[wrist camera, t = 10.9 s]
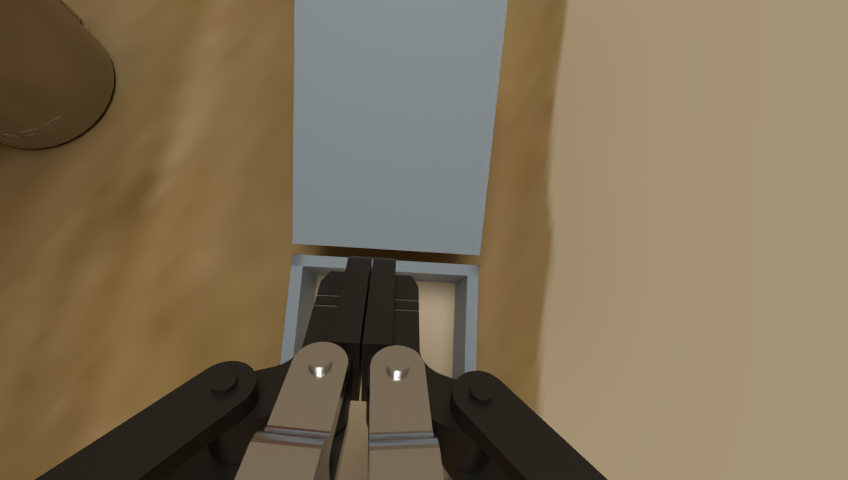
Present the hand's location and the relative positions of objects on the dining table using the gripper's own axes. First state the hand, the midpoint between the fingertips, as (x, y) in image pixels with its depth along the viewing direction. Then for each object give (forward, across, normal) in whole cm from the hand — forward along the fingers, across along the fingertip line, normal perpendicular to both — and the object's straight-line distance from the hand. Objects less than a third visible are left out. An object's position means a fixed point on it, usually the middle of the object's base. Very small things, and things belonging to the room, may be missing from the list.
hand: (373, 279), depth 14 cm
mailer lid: (+10, 0, +2) cm, 11 cm away
